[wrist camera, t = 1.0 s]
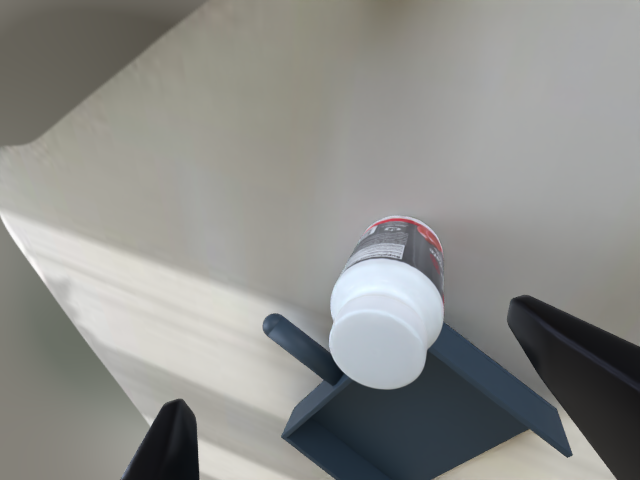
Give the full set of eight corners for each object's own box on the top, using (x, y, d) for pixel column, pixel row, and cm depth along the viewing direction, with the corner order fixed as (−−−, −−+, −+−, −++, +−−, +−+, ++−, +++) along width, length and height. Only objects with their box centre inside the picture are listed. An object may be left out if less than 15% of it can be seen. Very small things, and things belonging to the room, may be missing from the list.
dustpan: (557, 409, 24) (573, 455, 21) (405, 488, 31) (401, 530, 28) (329, 234, 24) (313, 255, 21) (235, 357, 32) (213, 385, 29)
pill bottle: (455, 279, 22) (461, 399, 14) (375, 295, 24) (339, 408, 16) (428, 201, 21) (417, 282, 12) (347, 226, 23) (291, 309, 15)
